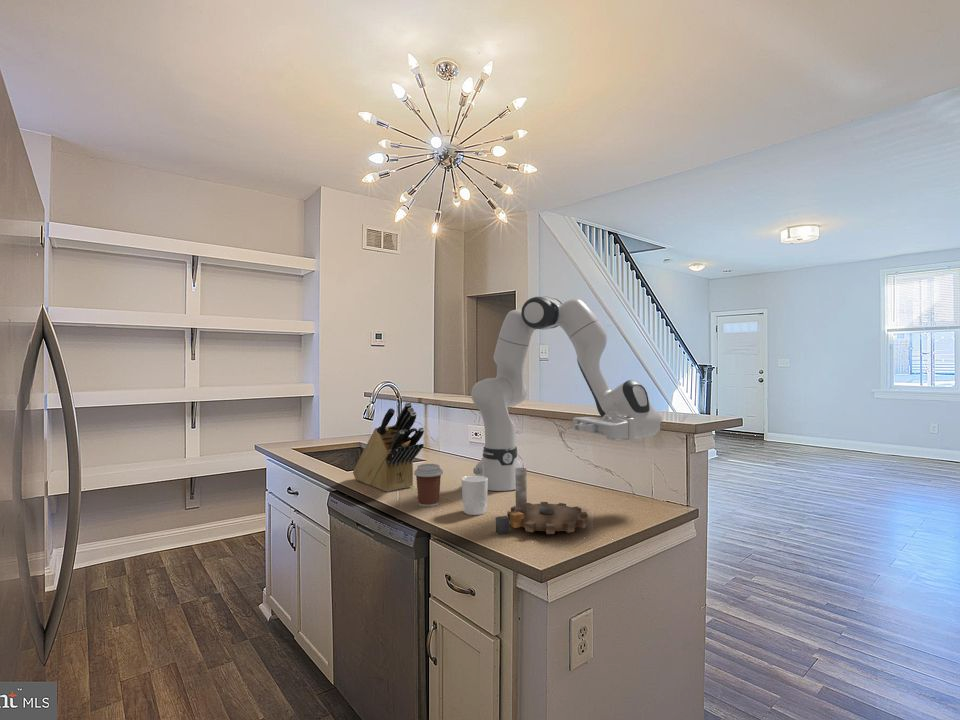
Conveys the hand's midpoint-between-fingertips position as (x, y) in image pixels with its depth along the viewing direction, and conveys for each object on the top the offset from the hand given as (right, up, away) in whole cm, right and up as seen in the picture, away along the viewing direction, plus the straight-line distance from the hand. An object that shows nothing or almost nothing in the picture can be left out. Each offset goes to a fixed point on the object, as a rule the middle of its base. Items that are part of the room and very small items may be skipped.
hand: (576, 427), depth 149 cm
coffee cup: (-45, -26, +11) cm, 53 cm away
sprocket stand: (-15, -25, -13) cm, 32 cm away
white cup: (-30, -26, +2) cm, 40 cm away
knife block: (-62, -26, +34) cm, 75 cm away
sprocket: (-10, -24, -11) cm, 28 cm away
